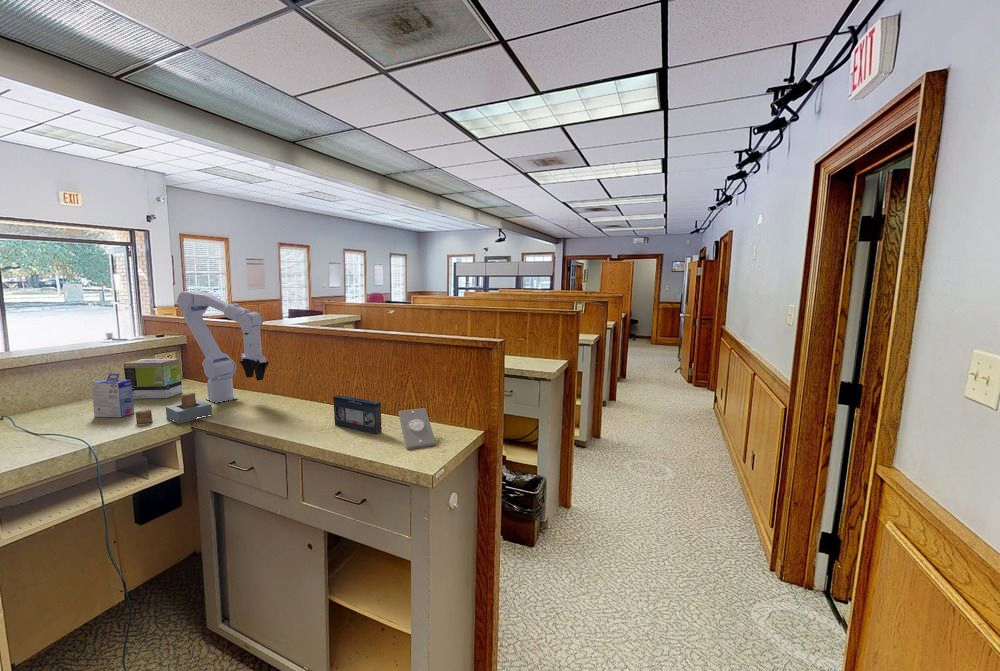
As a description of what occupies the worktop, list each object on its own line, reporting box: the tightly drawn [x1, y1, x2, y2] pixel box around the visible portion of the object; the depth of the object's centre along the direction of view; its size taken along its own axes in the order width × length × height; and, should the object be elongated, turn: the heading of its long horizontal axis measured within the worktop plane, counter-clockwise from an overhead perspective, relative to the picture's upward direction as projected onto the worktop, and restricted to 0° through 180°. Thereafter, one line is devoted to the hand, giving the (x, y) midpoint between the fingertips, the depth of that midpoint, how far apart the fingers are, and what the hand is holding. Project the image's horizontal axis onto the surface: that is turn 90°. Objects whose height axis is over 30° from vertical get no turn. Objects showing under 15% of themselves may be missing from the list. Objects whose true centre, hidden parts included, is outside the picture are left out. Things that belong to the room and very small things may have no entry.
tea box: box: [123, 357, 183, 400], centre depth 169 cm, size 15×10×15 cm, turn 93°
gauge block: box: [165, 399, 213, 424], centre depth 145 cm, size 10×10×4 cm
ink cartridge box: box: [91, 373, 135, 418], centre depth 145 cm, size 10×6×14 cm, turn 89°
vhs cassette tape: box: [333, 394, 383, 435], centre depth 135 cm, size 18×3×10 cm, turn 62°
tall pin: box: [180, 392, 197, 409], centre depth 145 cm, size 4×4×8 cm
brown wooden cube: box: [134, 409, 153, 426], centre depth 139 cm, size 4×4×4 cm
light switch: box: [398, 407, 437, 450], centre depth 127 cm, size 8×6×14 cm
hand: (255, 378), depth 161 cm, fingers open, 7 cm apart
